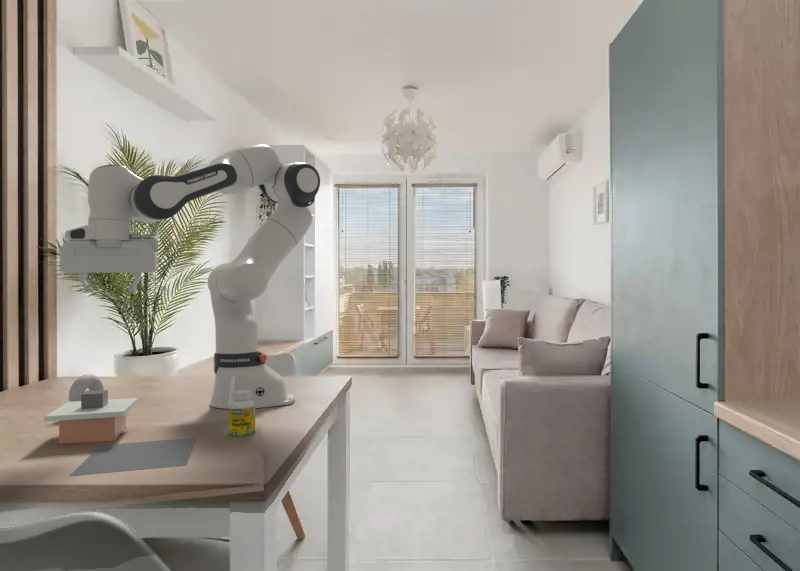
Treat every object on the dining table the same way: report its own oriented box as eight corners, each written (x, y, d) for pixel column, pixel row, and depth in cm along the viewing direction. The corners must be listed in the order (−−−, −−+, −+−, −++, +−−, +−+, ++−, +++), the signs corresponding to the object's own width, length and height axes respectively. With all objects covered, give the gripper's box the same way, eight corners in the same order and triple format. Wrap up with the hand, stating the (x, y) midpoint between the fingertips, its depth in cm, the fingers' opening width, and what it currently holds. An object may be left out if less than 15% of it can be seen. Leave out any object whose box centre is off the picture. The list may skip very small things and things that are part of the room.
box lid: (138, 402, 121) (138, 384, 121) (123, 416, 107) (123, 396, 107) (68, 406, 117) (68, 388, 117) (44, 421, 104) (44, 401, 104)
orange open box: (126, 431, 118) (125, 404, 118) (114, 444, 109) (114, 414, 109) (75, 435, 116) (75, 407, 116) (59, 448, 106) (59, 418, 106)
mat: (196, 441, 110) (196, 437, 110) (186, 469, 93) (186, 465, 93) (99, 449, 105) (99, 445, 105) (69, 480, 88) (69, 475, 88)
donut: (77, 418, 132) (76, 377, 132) (65, 417, 132) (64, 377, 132) (107, 409, 141) (106, 371, 141) (95, 408, 142) (95, 371, 142)
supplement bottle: (255, 432, 117) (255, 388, 117) (254, 439, 111) (254, 393, 111) (230, 434, 115) (229, 389, 115) (227, 441, 110) (227, 394, 110)
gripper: (159, 235, 132) (160, 291, 132) (66, 234, 126) (66, 292, 126) (155, 233, 126) (155, 291, 125) (56, 231, 120) (57, 292, 120)
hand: (110, 292), depth 126 cm, fingers open, 8 cm apart
